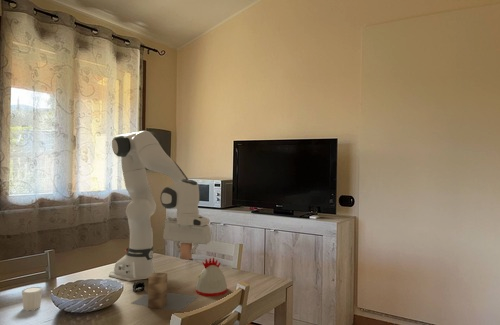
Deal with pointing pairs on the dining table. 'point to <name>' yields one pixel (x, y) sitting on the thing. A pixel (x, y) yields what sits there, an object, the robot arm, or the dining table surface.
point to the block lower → (157, 299)
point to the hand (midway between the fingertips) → (186, 252)
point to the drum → (185, 250)
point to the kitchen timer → (211, 280)
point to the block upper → (157, 282)
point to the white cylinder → (32, 298)
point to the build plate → (138, 286)
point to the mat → (170, 301)
